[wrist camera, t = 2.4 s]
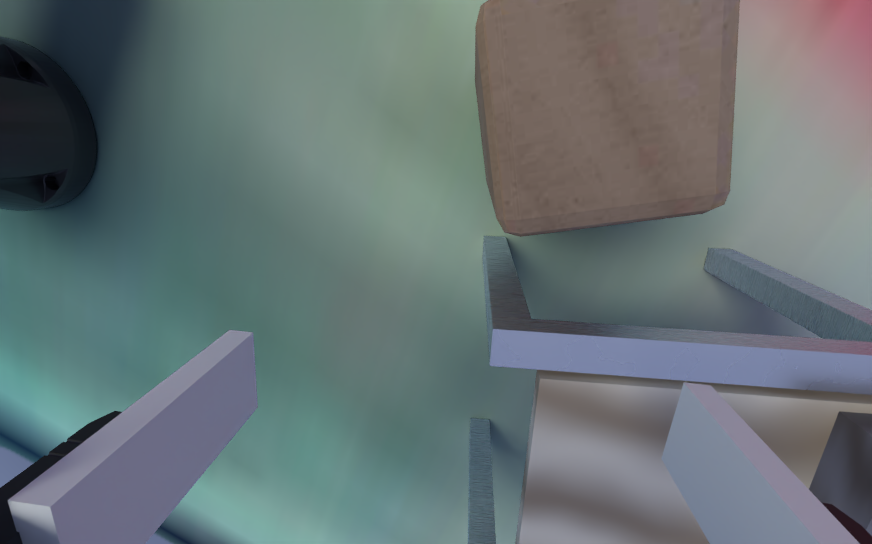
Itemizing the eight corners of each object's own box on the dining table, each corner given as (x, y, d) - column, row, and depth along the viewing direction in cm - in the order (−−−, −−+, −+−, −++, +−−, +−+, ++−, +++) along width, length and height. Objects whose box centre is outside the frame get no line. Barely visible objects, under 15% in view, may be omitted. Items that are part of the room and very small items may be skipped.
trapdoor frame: (483, 235, 39) (492, 328, 20) (732, 249, 38) (994, 364, 19) (469, 433, 46) (466, 642, 27) (679, 451, 44) (832, 687, 25)
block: (487, 190, 38) (500, 244, 19) (473, 69, 35) (472, -10, 16) (602, 174, 37) (740, 214, 18) (598, 47, 34) (757, -67, 15)
